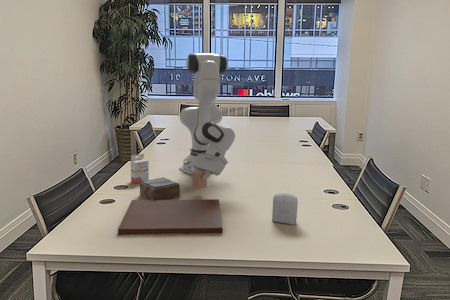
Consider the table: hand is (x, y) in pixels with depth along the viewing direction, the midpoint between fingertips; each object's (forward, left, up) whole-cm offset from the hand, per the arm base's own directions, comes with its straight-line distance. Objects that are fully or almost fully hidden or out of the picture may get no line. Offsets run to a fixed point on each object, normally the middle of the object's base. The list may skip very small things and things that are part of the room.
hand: (198, 177), depth 201 cm
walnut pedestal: (-11, -15, -9) cm, 21 cm away
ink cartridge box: (-39, -10, -9) cm, 41 cm away
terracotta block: (0, +1, -5) cm, 5 cm away
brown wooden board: (+17, -26, -10) cm, 33 cm away
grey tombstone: (+50, +7, -9) cm, 51 cm away
